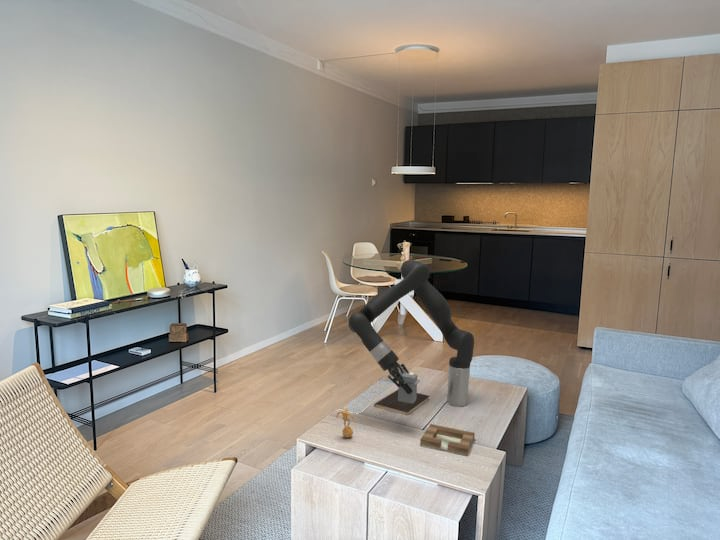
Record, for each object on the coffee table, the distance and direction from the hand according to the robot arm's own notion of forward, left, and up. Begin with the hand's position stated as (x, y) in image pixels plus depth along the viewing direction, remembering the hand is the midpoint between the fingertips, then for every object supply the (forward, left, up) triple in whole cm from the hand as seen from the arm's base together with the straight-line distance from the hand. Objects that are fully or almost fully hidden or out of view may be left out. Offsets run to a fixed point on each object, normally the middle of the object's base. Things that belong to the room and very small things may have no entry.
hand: (412, 390), depth 196 cm
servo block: (0, -2, -4) cm, 5 cm away
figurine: (+16, -20, -17) cm, 31 cm away
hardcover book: (-28, -12, -17) cm, 35 cm away
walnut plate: (+2, +15, -17) cm, 23 cm away
